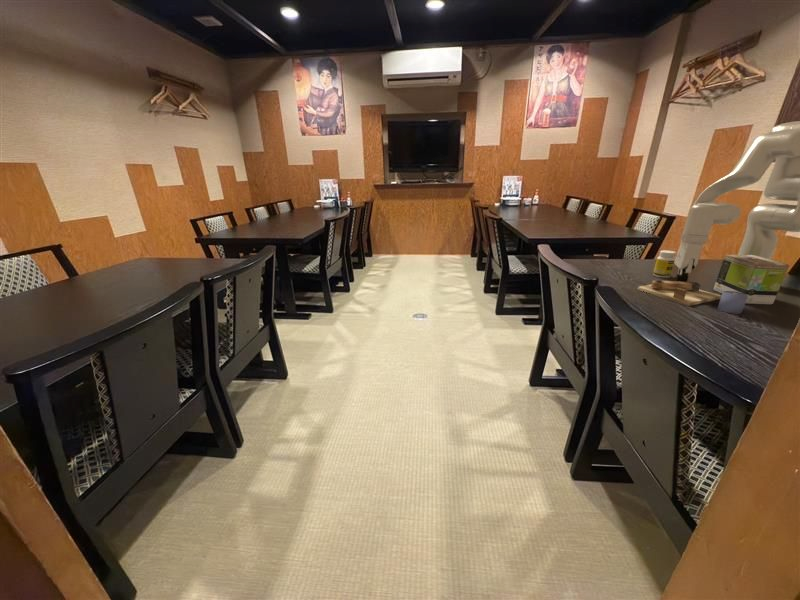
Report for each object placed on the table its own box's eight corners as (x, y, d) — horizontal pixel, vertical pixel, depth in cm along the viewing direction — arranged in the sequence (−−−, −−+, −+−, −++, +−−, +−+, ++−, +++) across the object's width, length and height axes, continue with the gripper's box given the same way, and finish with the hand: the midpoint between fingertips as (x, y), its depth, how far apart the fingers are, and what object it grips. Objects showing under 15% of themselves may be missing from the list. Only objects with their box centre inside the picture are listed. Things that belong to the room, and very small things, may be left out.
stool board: (667, 283, 136) (670, 273, 134) (721, 298, 119) (725, 286, 118) (637, 289, 131) (640, 278, 130) (688, 306, 114) (692, 293, 113)
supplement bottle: (665, 278, 142) (673, 254, 138) (649, 275, 147) (656, 251, 143) (672, 276, 145) (680, 251, 141) (656, 273, 150) (663, 249, 146)
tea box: (774, 305, 113) (791, 264, 107) (740, 303, 115) (755, 263, 109) (741, 290, 126) (755, 253, 121) (711, 289, 128) (724, 253, 123)
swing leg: (694, 287, 125) (696, 280, 124) (698, 290, 122) (701, 283, 121) (649, 285, 130) (651, 278, 129) (653, 288, 127) (655, 281, 126)
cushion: (724, 305, 114) (730, 289, 111) (745, 312, 108) (752, 295, 106) (713, 308, 112) (718, 291, 110) (734, 315, 107) (741, 297, 104)
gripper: (676, 234, 129) (664, 278, 136) (687, 241, 117) (672, 289, 123) (700, 235, 126) (686, 280, 132) (714, 242, 113) (697, 291, 120)
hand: (679, 284), depth 128 cm, fingers closed
